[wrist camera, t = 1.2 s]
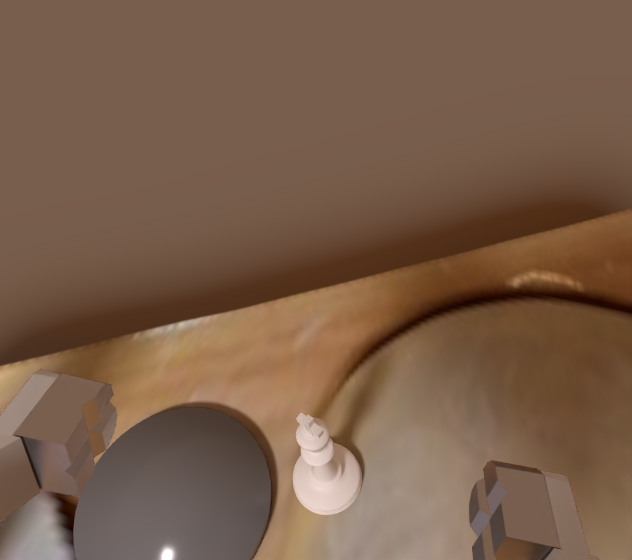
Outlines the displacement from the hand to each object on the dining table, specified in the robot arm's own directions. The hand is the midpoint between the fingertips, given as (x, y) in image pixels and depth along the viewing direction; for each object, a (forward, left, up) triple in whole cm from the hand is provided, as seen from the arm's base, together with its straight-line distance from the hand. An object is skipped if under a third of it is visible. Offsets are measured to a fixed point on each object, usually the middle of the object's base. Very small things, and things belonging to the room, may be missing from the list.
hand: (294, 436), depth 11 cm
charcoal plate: (+12, -8, -27) cm, 30 cm away
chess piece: (+1, -8, -27) cm, 28 cm away
